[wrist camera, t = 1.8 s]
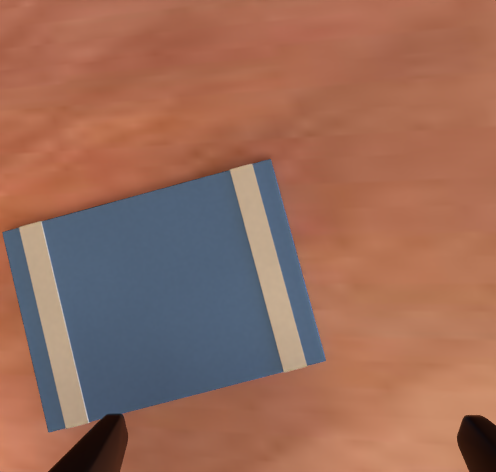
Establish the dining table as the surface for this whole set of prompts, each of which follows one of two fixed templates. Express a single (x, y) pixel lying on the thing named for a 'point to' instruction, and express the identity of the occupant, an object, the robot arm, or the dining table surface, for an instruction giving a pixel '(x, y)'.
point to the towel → (162, 296)
